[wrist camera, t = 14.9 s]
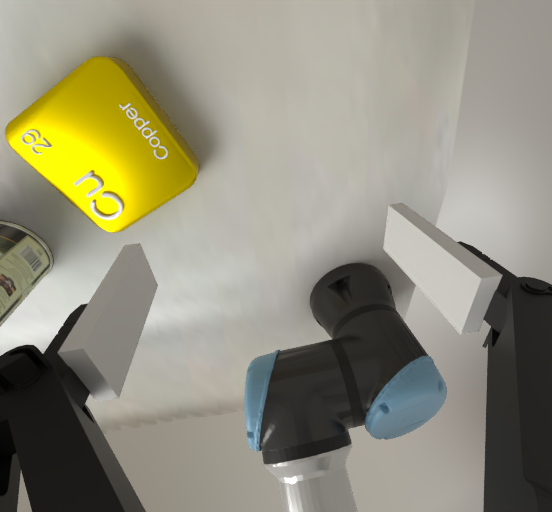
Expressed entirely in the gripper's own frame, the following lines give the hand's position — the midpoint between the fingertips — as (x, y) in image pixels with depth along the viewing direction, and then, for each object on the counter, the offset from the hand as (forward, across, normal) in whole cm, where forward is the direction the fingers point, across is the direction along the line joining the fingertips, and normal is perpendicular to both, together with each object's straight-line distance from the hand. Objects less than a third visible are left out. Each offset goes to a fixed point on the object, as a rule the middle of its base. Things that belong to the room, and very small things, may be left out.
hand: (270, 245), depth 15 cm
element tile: (+26, +16, -2) cm, 31 cm away
